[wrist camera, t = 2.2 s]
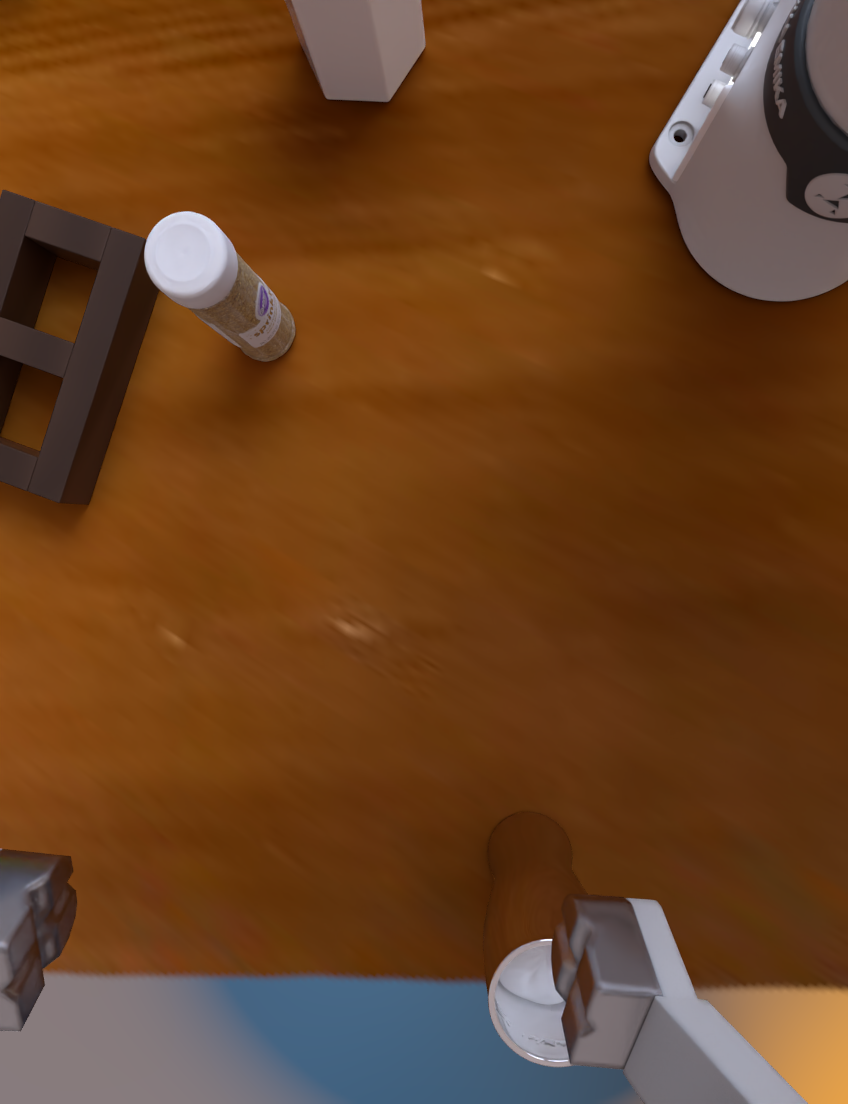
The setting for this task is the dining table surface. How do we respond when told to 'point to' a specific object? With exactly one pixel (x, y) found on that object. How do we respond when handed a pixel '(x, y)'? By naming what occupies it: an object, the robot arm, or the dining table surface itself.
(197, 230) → the sprinkles bottle
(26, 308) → the holder
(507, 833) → the beer glass
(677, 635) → the dining table surface
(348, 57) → the jar
